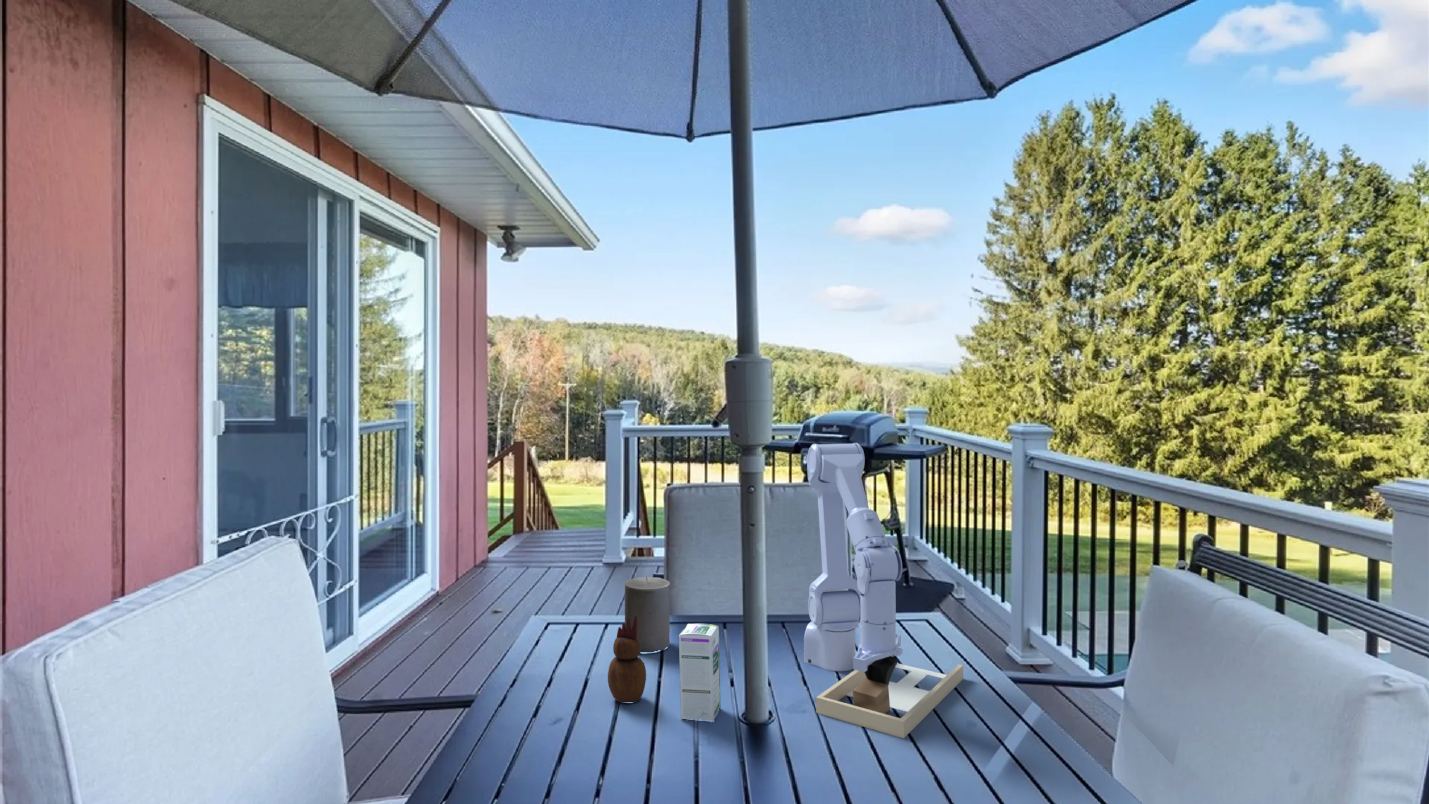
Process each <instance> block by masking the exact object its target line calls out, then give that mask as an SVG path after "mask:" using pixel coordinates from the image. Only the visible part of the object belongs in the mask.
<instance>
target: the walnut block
mask: <svg viewBox="0 0 1429 804" xmlns="http://www.w3.org/2000/svg"><path fill="white" fill-rule="evenodd" d="M852 698H853V705H854V706H858V707H861V708H865V709H868V710H872V711H876V712H879V713H883V714H886V715H887V713H888V712H889V711H890V709H891V707H890V701H889V689H888V685H887V684H883V683H880V682H876V681H872V680H869V679H864V680H863V681H862V682H861V683H860V684H859V685H858V686H857V687H856V688H855V689H854V690H853V697H852Z"/></svg>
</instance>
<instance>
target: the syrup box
mask: <svg viewBox="0 0 1429 804" xmlns="http://www.w3.org/2000/svg"><path fill="white" fill-rule="evenodd" d="M719 629H720V628H719V625H716V624H709V623H687V624H686V626H685V628H683V629H682V631H681V632H680V633H679V635H678V645H679V646H678V647H679V649H678V650H679V653H678V655H679V657H678V658H679V690H680V691H679V692H680V693H679V696H680V697H679V698H680V699H679V700H680V719H681V720H682V719H697V720H699V719H702V720H712V721H713V720H714V719H716V718H717V716H718V714H719V712H720V710H719V708H720V709H721V667H720V666H721V665H720V664H721V663H720V662H721V661H720V636H719V635H720V634H719V633H720V631H719ZM718 711H719V712H718ZM716 715H717V716H716ZM715 717H716V718H715ZM714 721H715V720H714Z"/></svg>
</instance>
